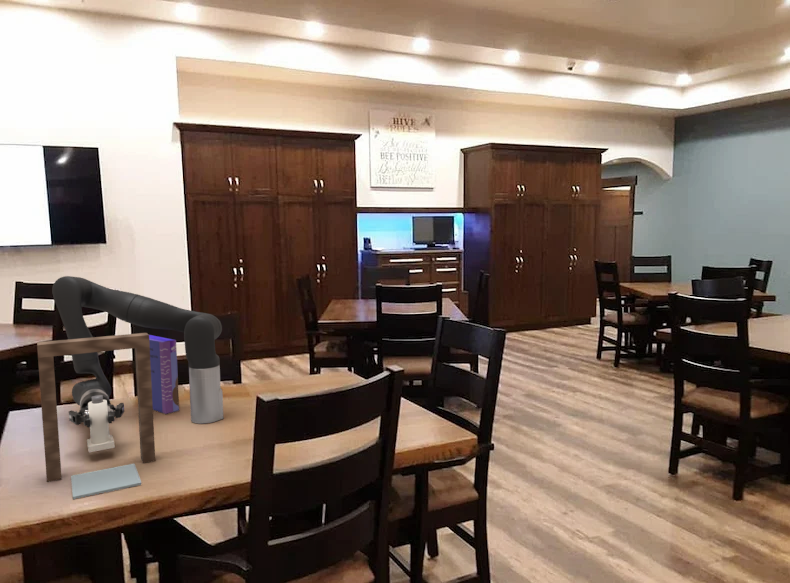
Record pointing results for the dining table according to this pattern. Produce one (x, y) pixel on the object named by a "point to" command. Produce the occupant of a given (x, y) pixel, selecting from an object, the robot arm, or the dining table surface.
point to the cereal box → (164, 374)
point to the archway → (88, 346)
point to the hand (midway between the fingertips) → (99, 421)
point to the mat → (104, 480)
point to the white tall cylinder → (99, 425)
